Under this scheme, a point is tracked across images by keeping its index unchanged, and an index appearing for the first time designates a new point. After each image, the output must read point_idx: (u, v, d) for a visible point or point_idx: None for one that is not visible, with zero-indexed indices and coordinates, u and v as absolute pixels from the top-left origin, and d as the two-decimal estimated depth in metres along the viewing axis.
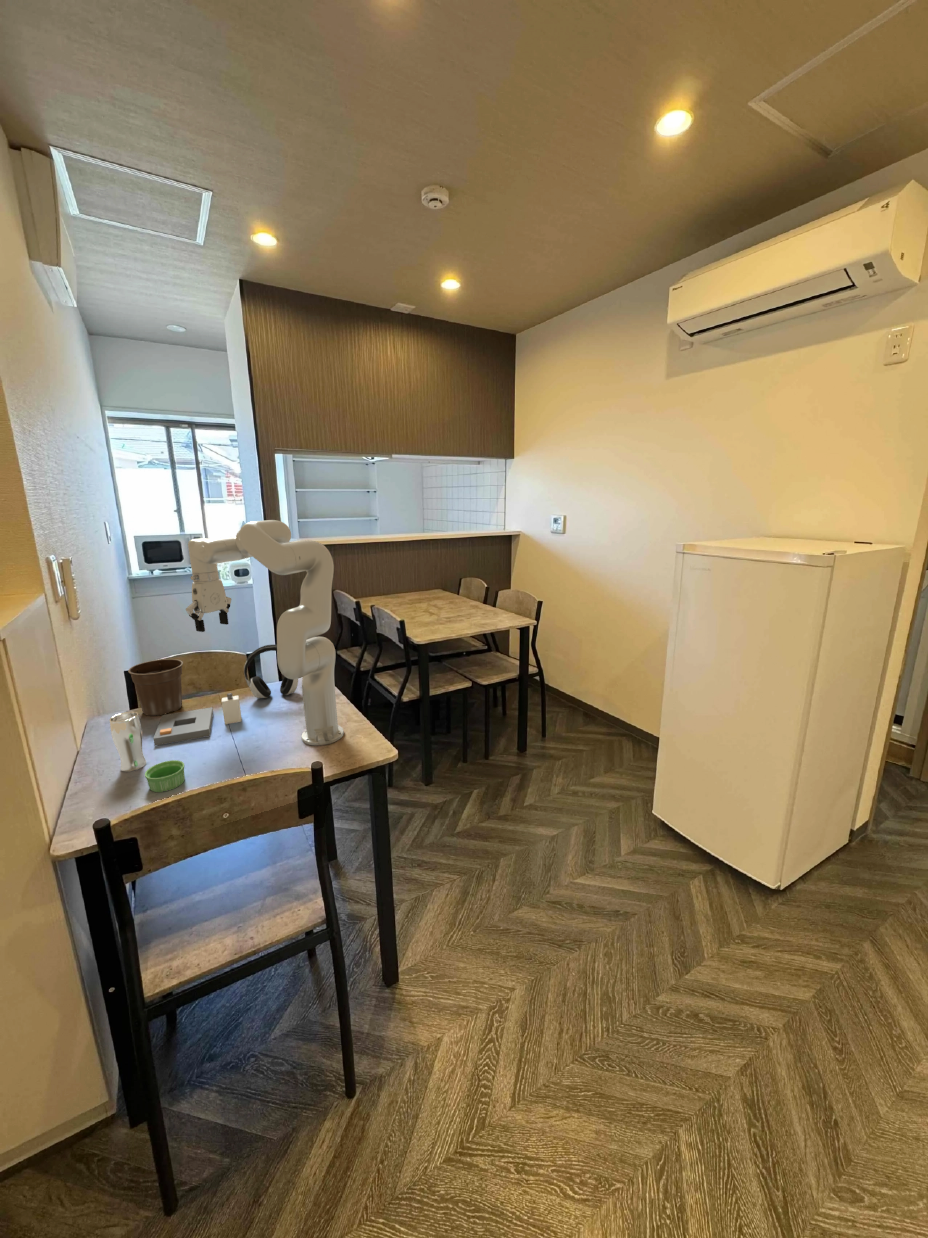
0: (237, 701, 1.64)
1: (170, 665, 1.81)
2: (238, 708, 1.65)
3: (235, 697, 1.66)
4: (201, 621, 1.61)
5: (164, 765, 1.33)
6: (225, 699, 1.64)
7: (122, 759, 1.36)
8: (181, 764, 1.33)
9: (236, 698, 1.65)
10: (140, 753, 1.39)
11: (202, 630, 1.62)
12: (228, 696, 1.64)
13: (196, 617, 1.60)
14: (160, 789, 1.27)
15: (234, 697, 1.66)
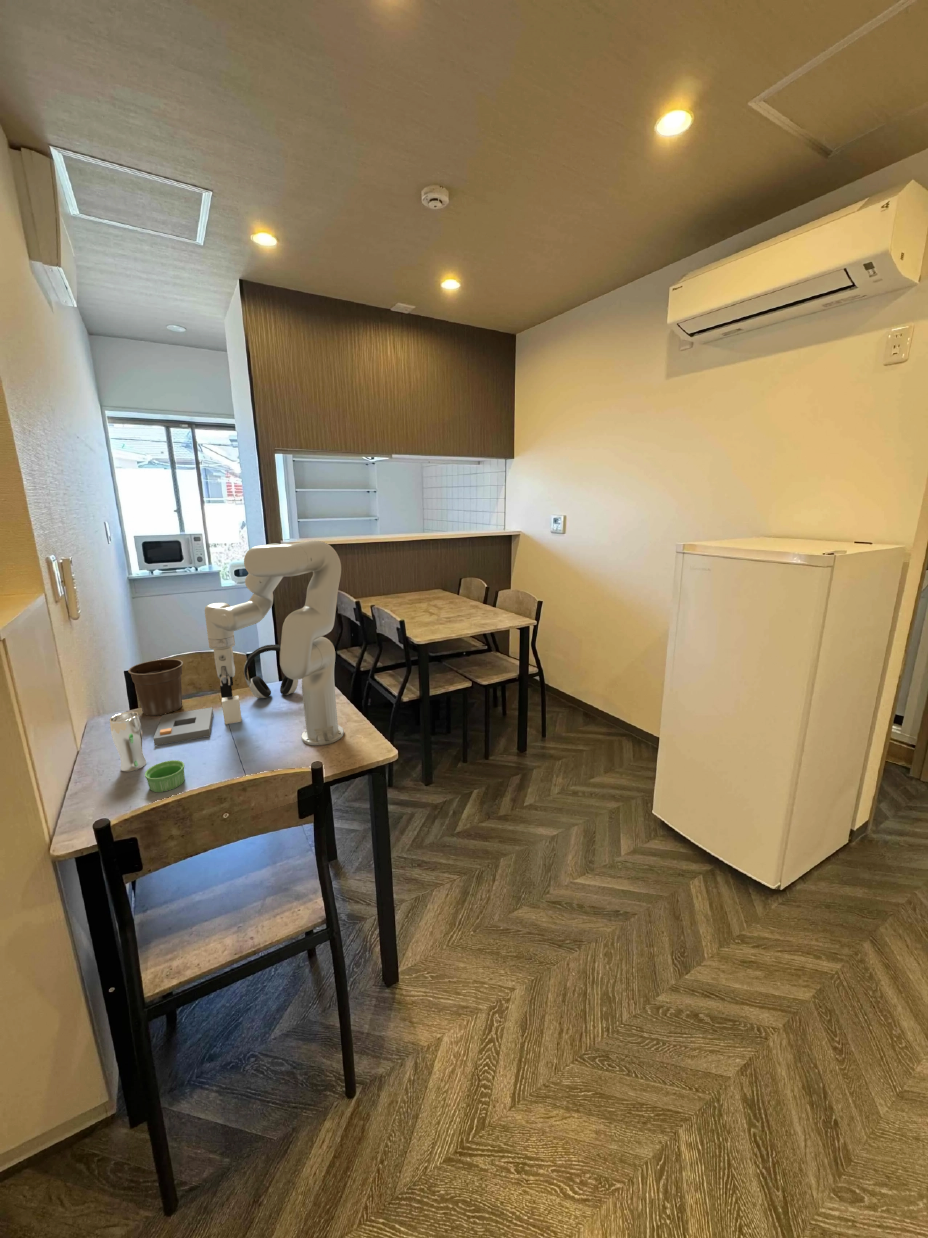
0: (237, 701, 1.64)
1: (170, 665, 1.81)
2: (238, 708, 1.65)
3: (236, 697, 1.66)
4: (230, 686, 1.60)
5: (164, 765, 1.33)
6: (225, 699, 1.64)
7: (122, 759, 1.36)
8: (181, 764, 1.33)
9: (236, 698, 1.65)
10: (140, 753, 1.39)
11: (230, 695, 1.60)
12: None
13: (227, 683, 1.58)
14: (160, 789, 1.27)
15: (234, 697, 1.66)
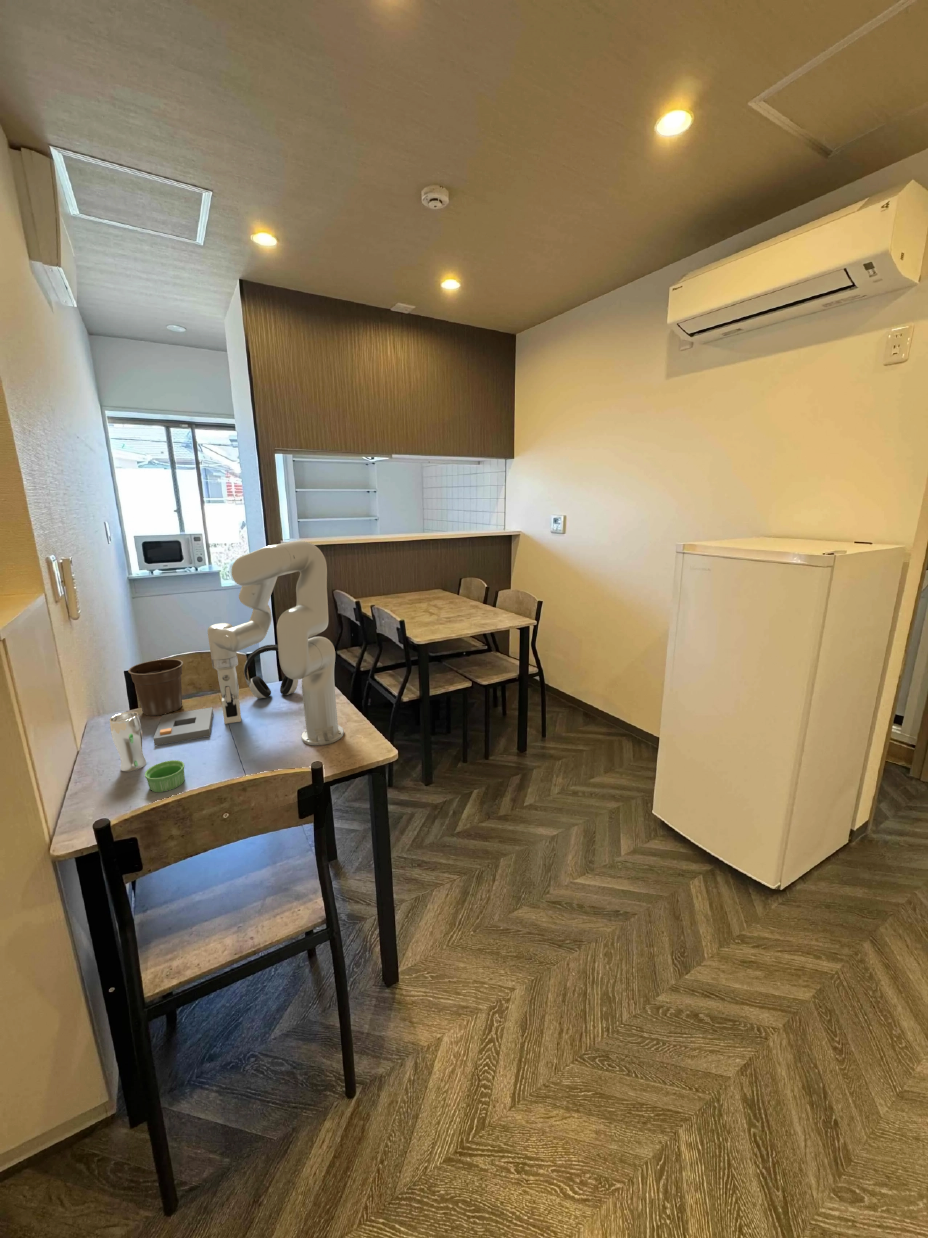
0: (237, 701, 1.64)
1: (170, 665, 1.81)
2: (238, 708, 1.65)
3: (236, 697, 1.66)
4: (235, 706, 1.64)
5: (164, 765, 1.33)
6: None
7: (122, 759, 1.36)
8: (181, 764, 1.33)
9: (236, 698, 1.65)
10: (140, 753, 1.39)
11: (235, 714, 1.65)
12: None
13: (232, 703, 1.62)
14: (160, 789, 1.27)
15: (234, 697, 1.66)
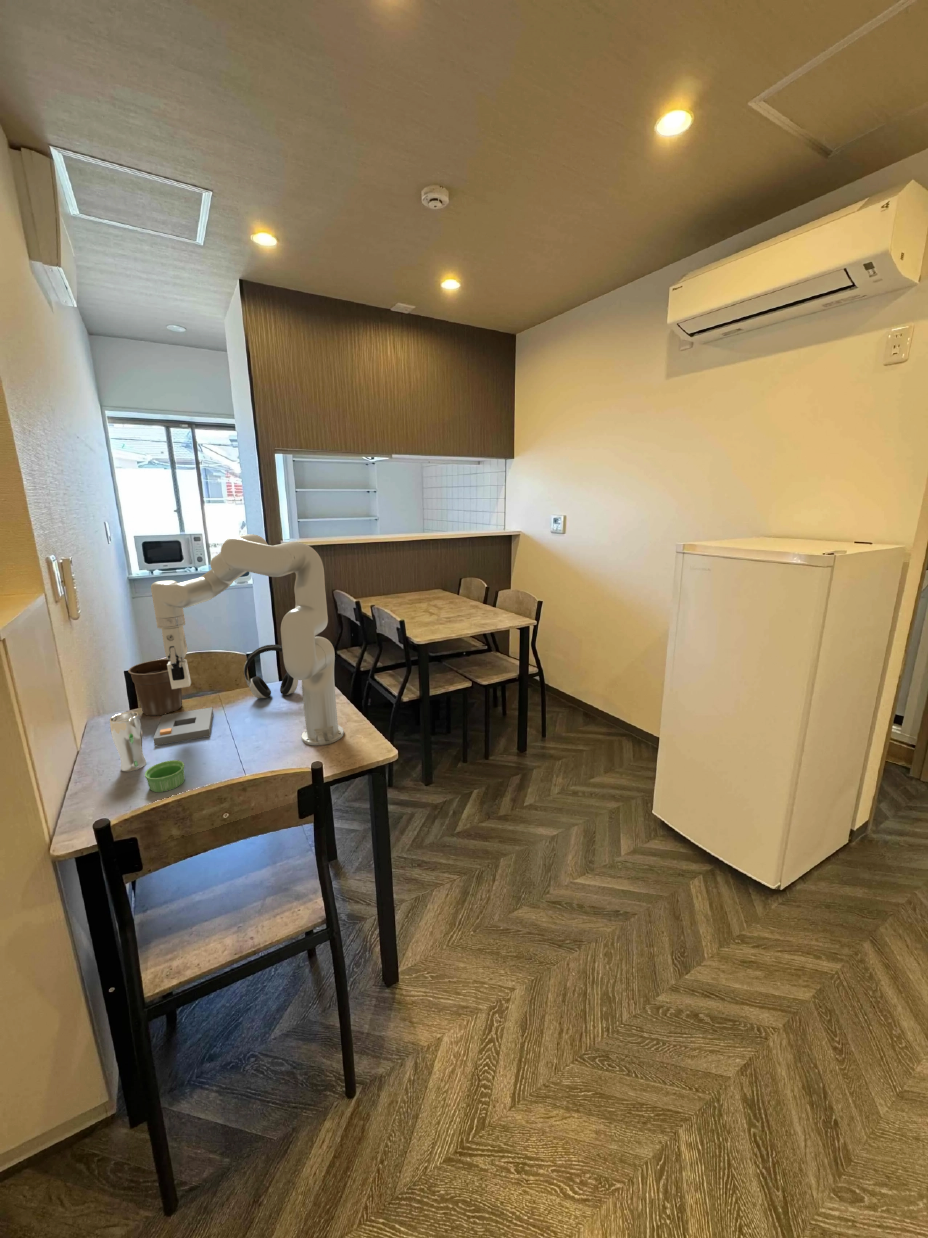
0: (184, 664, 1.56)
1: None
2: (185, 672, 1.56)
3: (183, 661, 1.57)
4: (181, 668, 1.55)
5: (164, 765, 1.33)
6: None
7: (122, 759, 1.36)
8: (181, 764, 1.33)
9: (183, 662, 1.56)
10: (140, 753, 1.39)
11: (182, 677, 1.56)
12: None
13: (178, 665, 1.54)
14: (160, 789, 1.27)
15: (181, 661, 1.57)
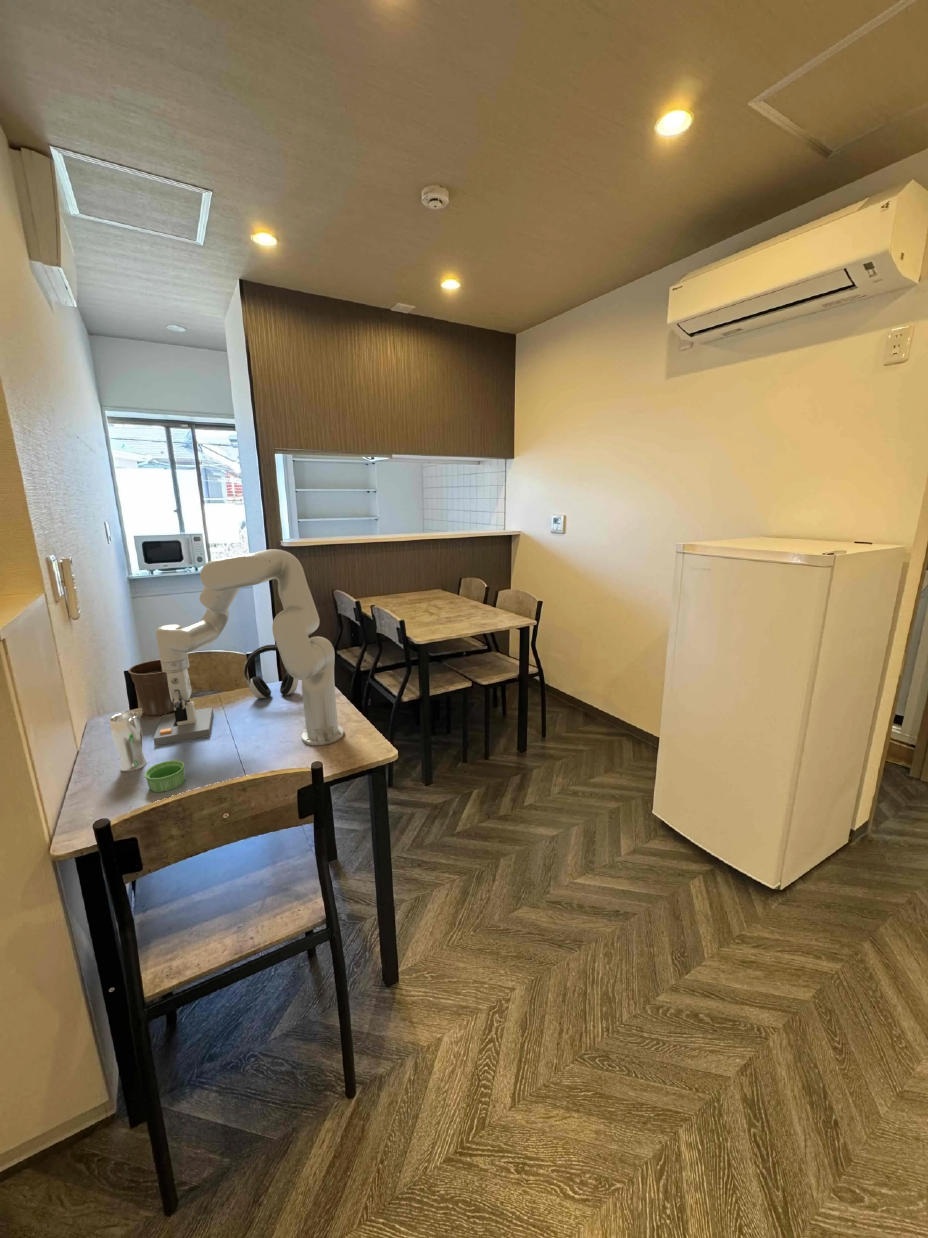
0: (191, 707, 1.59)
1: None
2: (192, 714, 1.60)
3: (190, 703, 1.60)
4: (184, 710, 1.56)
5: (164, 765, 1.33)
6: None
7: (122, 759, 1.36)
8: (181, 764, 1.33)
9: (190, 705, 1.59)
10: (140, 753, 1.39)
11: (185, 719, 1.56)
12: None
13: (181, 707, 1.54)
14: (160, 789, 1.27)
15: (188, 703, 1.61)
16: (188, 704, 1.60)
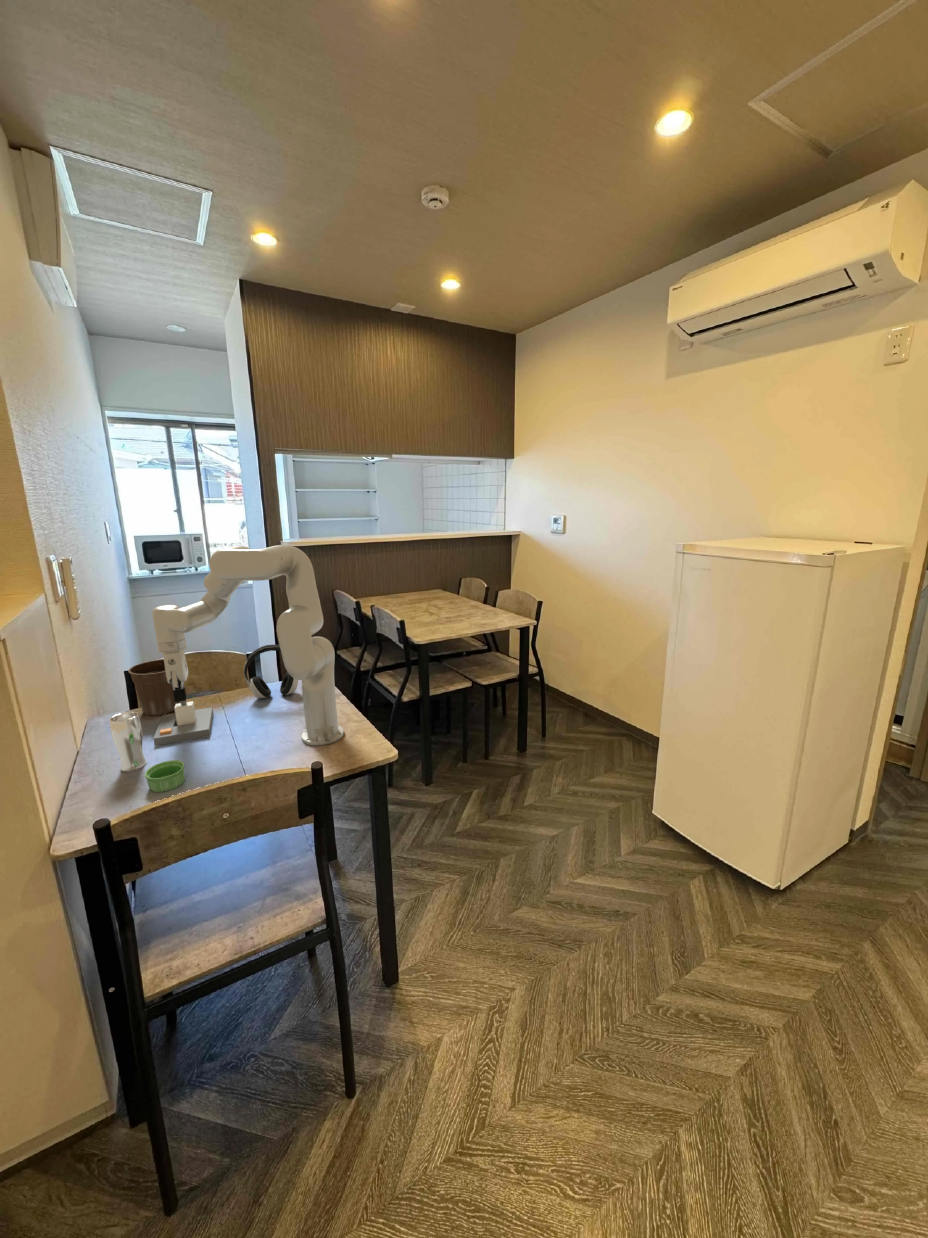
0: (191, 707, 1.59)
1: None
2: (192, 714, 1.60)
3: (190, 703, 1.60)
4: (183, 690, 1.58)
5: (164, 765, 1.33)
6: (178, 705, 1.59)
7: (122, 759, 1.36)
8: (181, 764, 1.33)
9: (190, 704, 1.59)
10: (140, 753, 1.39)
11: (184, 699, 1.59)
12: (182, 702, 1.59)
13: (180, 687, 1.57)
14: (160, 789, 1.27)
15: (188, 703, 1.61)
16: (188, 704, 1.60)
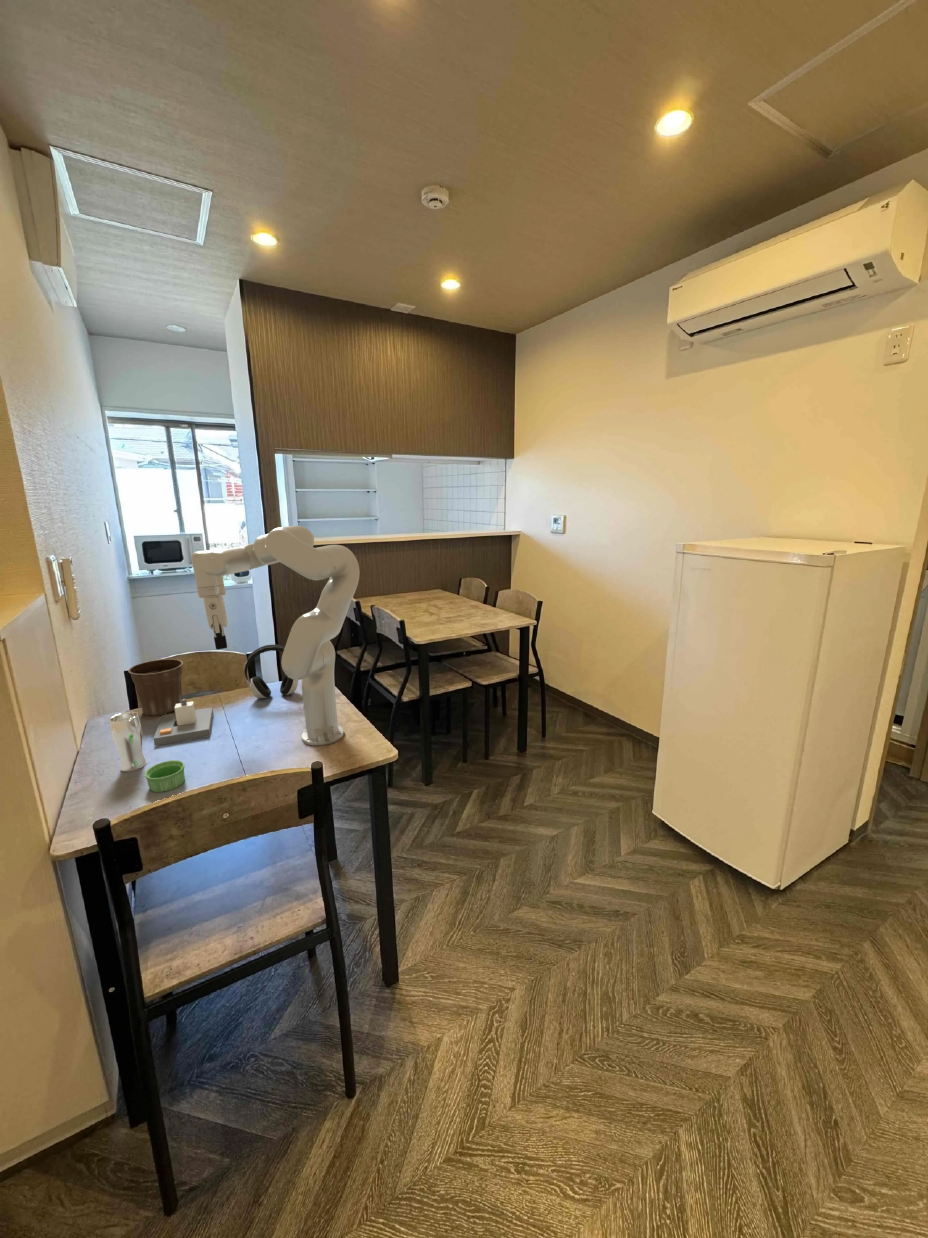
0: (191, 707, 1.59)
1: (170, 665, 1.81)
2: (192, 714, 1.60)
3: (190, 703, 1.60)
4: (224, 637, 1.57)
5: (164, 765, 1.33)
6: (179, 705, 1.59)
7: (122, 759, 1.36)
8: (181, 764, 1.33)
9: (190, 705, 1.59)
10: (140, 753, 1.39)
11: (225, 646, 1.57)
12: (182, 702, 1.59)
13: (221, 633, 1.55)
14: (160, 789, 1.27)
15: (188, 703, 1.61)
16: (188, 704, 1.60)
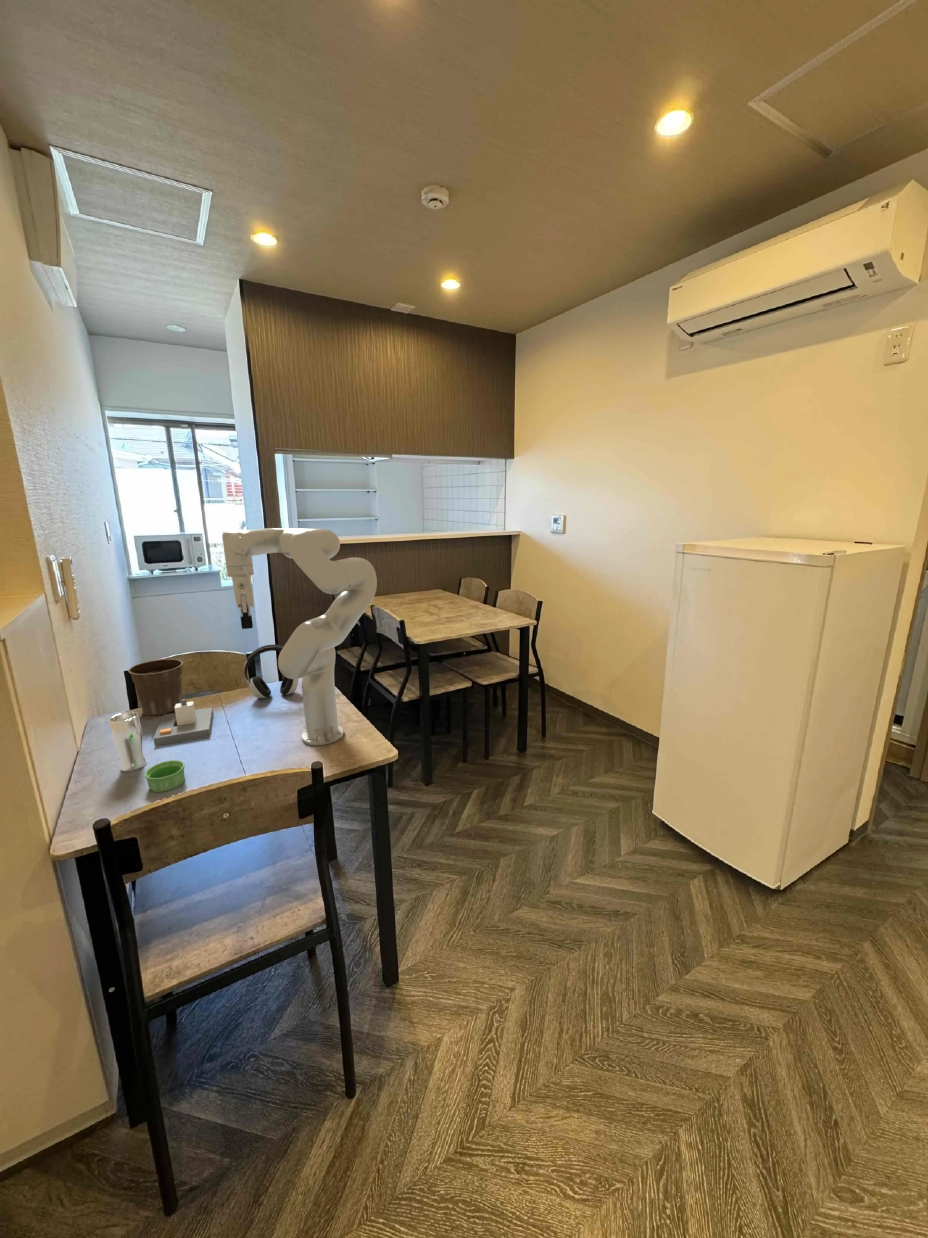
0: (191, 707, 1.59)
1: (170, 665, 1.81)
2: (192, 714, 1.60)
3: (190, 703, 1.60)
4: (250, 617, 1.57)
5: (164, 765, 1.33)
6: (179, 705, 1.59)
7: (122, 759, 1.36)
8: (181, 764, 1.33)
9: (190, 705, 1.59)
10: (140, 753, 1.39)
11: (251, 626, 1.58)
12: (182, 702, 1.59)
13: (248, 613, 1.56)
14: (160, 789, 1.27)
15: (188, 703, 1.61)
16: (188, 704, 1.60)
